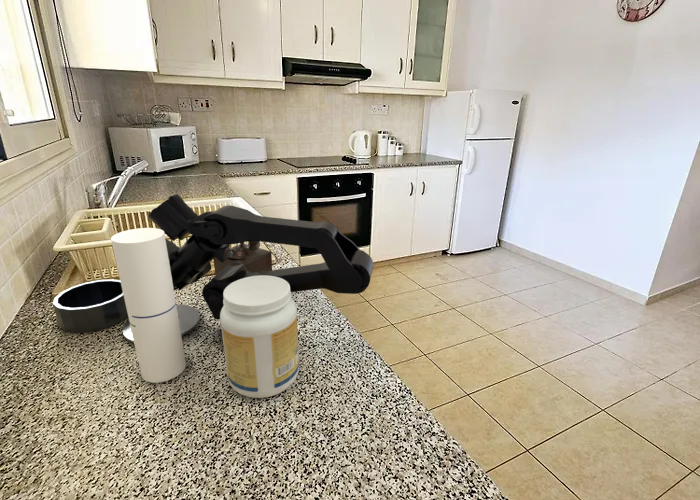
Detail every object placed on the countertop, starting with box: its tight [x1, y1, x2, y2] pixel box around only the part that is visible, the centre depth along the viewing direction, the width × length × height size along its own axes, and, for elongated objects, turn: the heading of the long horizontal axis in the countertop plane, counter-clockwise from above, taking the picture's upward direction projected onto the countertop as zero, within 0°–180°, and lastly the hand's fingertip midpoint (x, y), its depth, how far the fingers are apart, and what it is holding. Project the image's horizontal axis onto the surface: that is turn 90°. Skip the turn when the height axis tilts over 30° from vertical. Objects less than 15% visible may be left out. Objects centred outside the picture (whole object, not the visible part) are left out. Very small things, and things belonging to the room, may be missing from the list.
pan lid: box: [121, 303, 201, 343], centre depth 77 cm, size 15×15×9 cm
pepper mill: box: [212, 241, 273, 277], centre depth 91 cm, size 16×11×18 cm
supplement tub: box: [219, 275, 300, 399], centre depth 62 cm, size 12×12×17 cm
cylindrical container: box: [110, 227, 187, 384], centre depth 61 cm, size 7×7×25 cm
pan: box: [52, 278, 129, 334], centre depth 81 cm, size 14×14×5 cm
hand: (152, 300), depth 77 cm, fingers open, 9 cm apart
